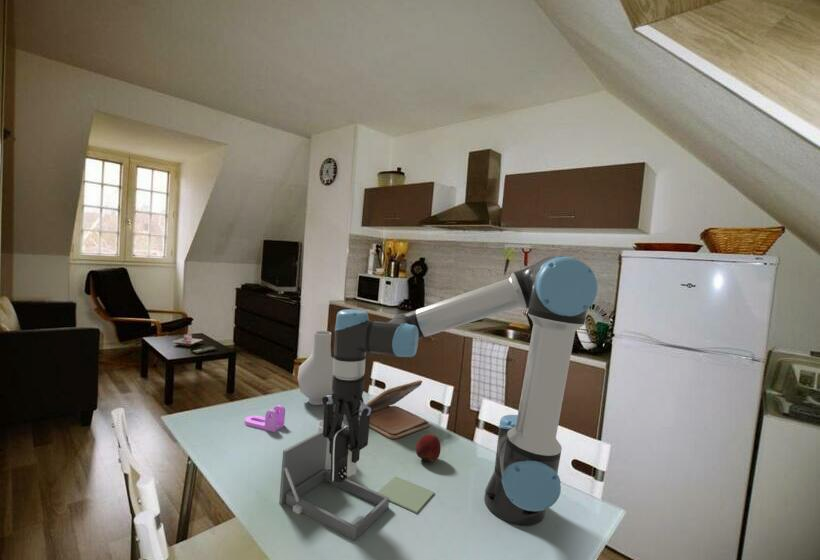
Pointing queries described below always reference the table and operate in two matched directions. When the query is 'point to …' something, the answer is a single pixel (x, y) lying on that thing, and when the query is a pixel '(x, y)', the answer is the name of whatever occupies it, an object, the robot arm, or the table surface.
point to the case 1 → (308, 470)
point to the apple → (428, 447)
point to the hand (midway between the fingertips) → (343, 470)
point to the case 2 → (394, 413)
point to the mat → (406, 494)
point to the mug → (328, 455)
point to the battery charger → (340, 454)
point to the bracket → (268, 419)
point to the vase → (317, 370)
